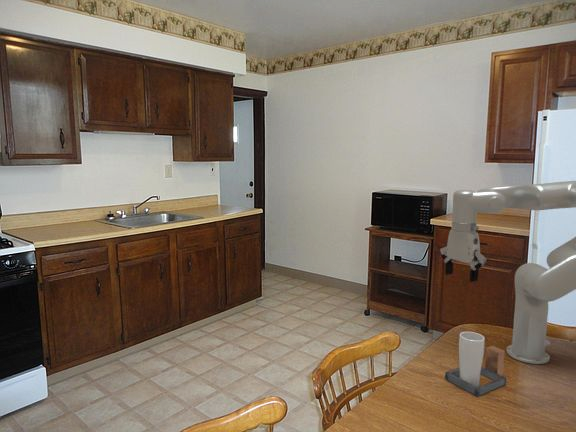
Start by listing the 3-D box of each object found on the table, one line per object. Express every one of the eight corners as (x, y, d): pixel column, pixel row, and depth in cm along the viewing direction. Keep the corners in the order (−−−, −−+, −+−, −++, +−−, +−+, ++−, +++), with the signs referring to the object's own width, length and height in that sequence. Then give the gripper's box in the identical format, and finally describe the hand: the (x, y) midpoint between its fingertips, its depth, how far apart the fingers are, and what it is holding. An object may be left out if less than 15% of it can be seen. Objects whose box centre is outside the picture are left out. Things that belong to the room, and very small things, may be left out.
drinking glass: (484, 392, 117) (487, 342, 115) (458, 389, 119) (461, 339, 117) (479, 380, 124) (482, 332, 122) (455, 377, 125) (457, 330, 124)
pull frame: (481, 365, 133) (482, 341, 132) (514, 380, 123) (515, 355, 122) (445, 378, 124) (446, 353, 123) (477, 396, 115) (479, 369, 114)
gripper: (494, 230, 131) (491, 282, 133) (449, 223, 146) (447, 270, 148) (479, 232, 128) (476, 285, 130) (435, 225, 142) (432, 273, 145)
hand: (460, 277), depth 139 cm, fingers open, 9 cm apart
